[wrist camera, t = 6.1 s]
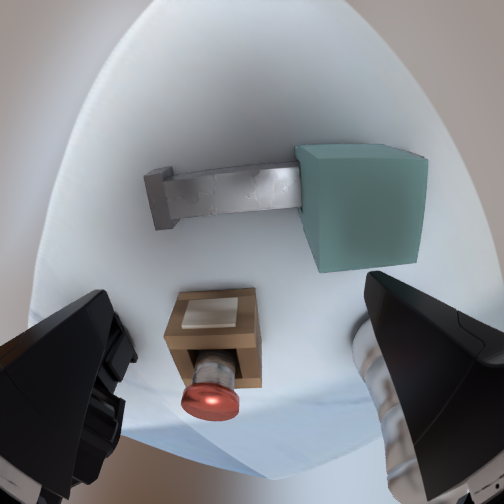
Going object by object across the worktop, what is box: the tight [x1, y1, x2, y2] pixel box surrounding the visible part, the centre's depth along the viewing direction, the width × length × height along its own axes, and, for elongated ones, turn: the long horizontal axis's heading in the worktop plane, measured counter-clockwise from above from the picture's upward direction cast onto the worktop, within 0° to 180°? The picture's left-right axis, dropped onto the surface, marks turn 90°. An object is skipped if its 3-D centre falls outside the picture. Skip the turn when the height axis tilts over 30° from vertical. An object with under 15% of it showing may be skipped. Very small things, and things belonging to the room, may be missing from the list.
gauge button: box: [181, 348, 239, 421], centre depth 18 cm, size 4×4×6 cm
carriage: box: [295, 144, 428, 273], centre depth 14 cm, size 5×5×7 cm
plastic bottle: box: [352, 318, 468, 504], centre depth 15 cm, size 6×7×20 cm
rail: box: [144, 152, 424, 230], centre depth 17 cm, size 17×4×2 cm, turn 96°
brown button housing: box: [164, 288, 262, 389], centre depth 21 cm, size 6×6×5 cm
